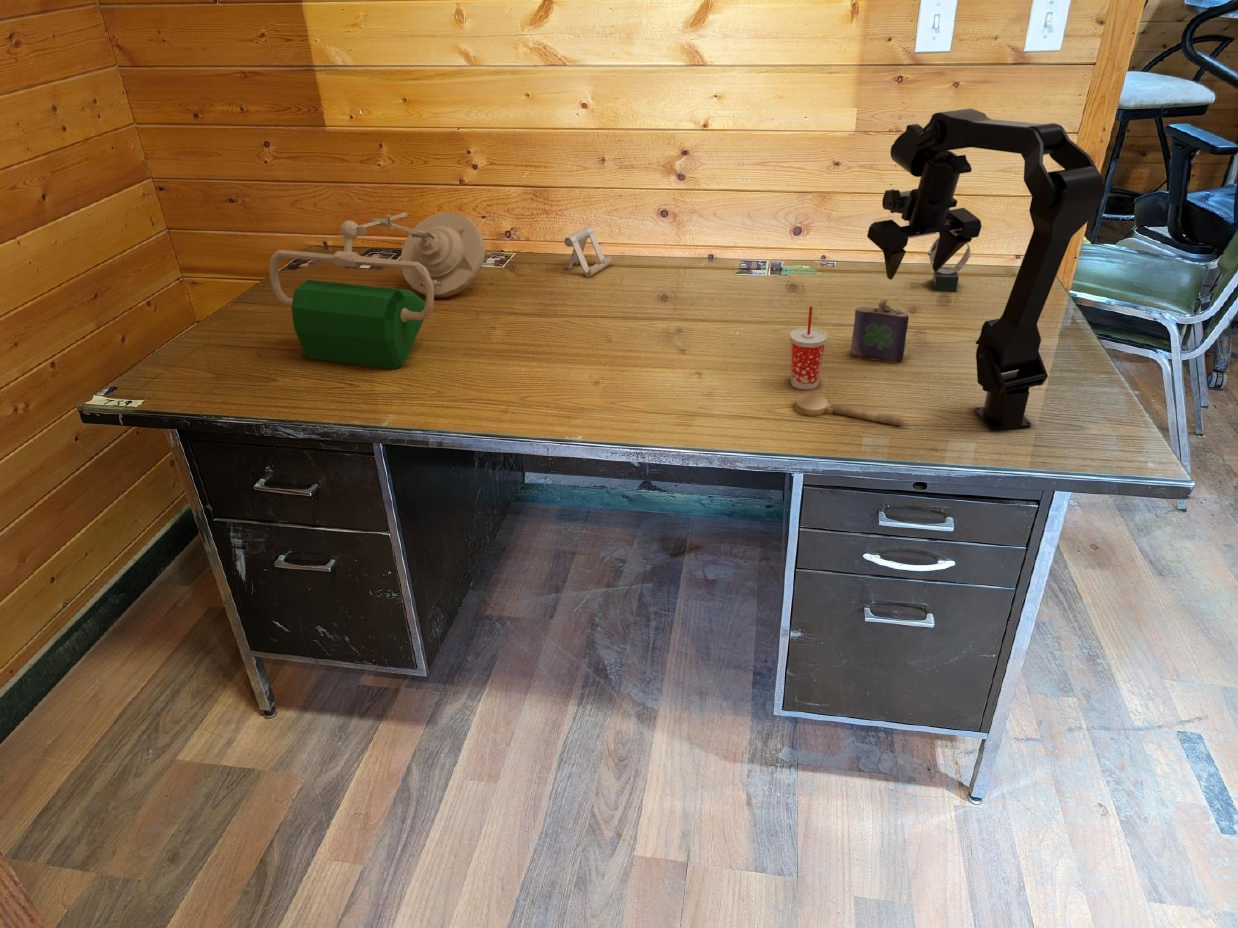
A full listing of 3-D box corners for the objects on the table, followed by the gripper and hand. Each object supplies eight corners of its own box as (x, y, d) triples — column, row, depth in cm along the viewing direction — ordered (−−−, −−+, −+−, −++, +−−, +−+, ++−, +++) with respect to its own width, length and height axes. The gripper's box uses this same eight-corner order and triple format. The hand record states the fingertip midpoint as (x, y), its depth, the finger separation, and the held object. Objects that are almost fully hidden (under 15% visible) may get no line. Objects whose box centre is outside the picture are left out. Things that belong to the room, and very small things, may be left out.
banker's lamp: (349, 393, 198) (232, 332, 161) (393, 219, 204) (291, 123, 168) (491, 413, 188) (401, 354, 151) (533, 229, 194) (456, 129, 158)
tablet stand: (591, 278, 199) (589, 241, 194) (562, 272, 202) (559, 236, 198) (612, 265, 205) (610, 229, 200) (583, 260, 209) (581, 224, 204)
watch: (922, 280, 191) (930, 229, 185) (962, 282, 189) (971, 231, 183) (924, 290, 186) (932, 238, 180) (965, 292, 184) (974, 240, 178)
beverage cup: (809, 395, 150) (816, 317, 143) (779, 384, 154) (784, 308, 146) (829, 382, 154) (837, 305, 146) (799, 371, 158) (805, 296, 150)
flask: (848, 356, 162) (855, 300, 156) (852, 349, 164) (859, 294, 158) (901, 364, 158) (910, 308, 153) (904, 357, 161) (912, 301, 155)
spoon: (905, 418, 143) (906, 410, 142) (898, 433, 139) (899, 425, 138) (800, 398, 150) (801, 390, 149) (791, 412, 146) (791, 404, 145)
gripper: (955, 161, 152) (931, 244, 163) (859, 175, 147) (841, 259, 158) (996, 190, 145) (968, 274, 155) (897, 206, 140) (875, 292, 150)
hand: (912, 274), depth 155 cm, fingers open, 9 cm apart
